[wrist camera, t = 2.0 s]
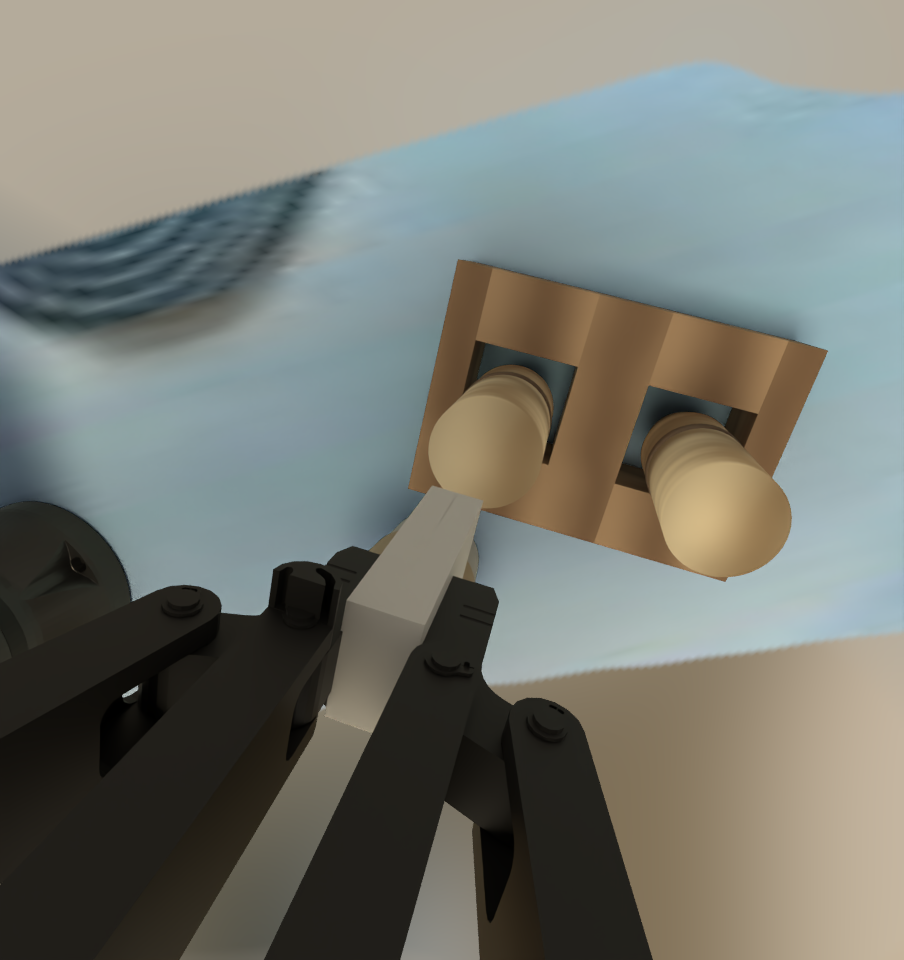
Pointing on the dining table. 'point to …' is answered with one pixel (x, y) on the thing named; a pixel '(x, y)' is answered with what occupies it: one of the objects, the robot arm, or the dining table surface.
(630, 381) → the board
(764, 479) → the peg
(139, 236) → the dining table surface
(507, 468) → the peg
